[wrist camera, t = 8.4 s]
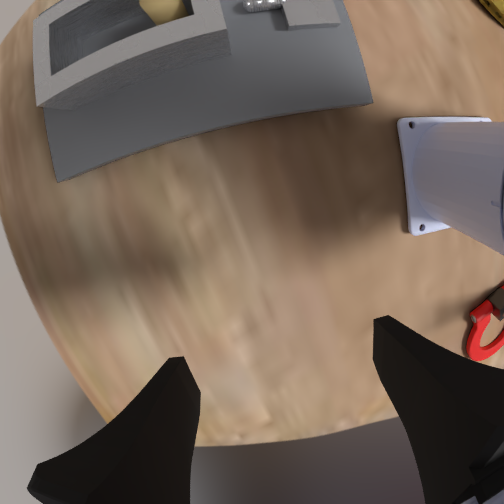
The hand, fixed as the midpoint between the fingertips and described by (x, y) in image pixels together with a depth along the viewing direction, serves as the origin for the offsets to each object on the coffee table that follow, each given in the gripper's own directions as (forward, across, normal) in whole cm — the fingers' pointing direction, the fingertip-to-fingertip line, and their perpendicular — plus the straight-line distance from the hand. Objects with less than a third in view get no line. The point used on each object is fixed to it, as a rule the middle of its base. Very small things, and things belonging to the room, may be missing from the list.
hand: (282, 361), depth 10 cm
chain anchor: (+8, -4, -16) cm, 18 cm away
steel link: (+8, +4, -16) cm, 18 cm away
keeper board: (+9, +2, -16) cm, 19 cm away
